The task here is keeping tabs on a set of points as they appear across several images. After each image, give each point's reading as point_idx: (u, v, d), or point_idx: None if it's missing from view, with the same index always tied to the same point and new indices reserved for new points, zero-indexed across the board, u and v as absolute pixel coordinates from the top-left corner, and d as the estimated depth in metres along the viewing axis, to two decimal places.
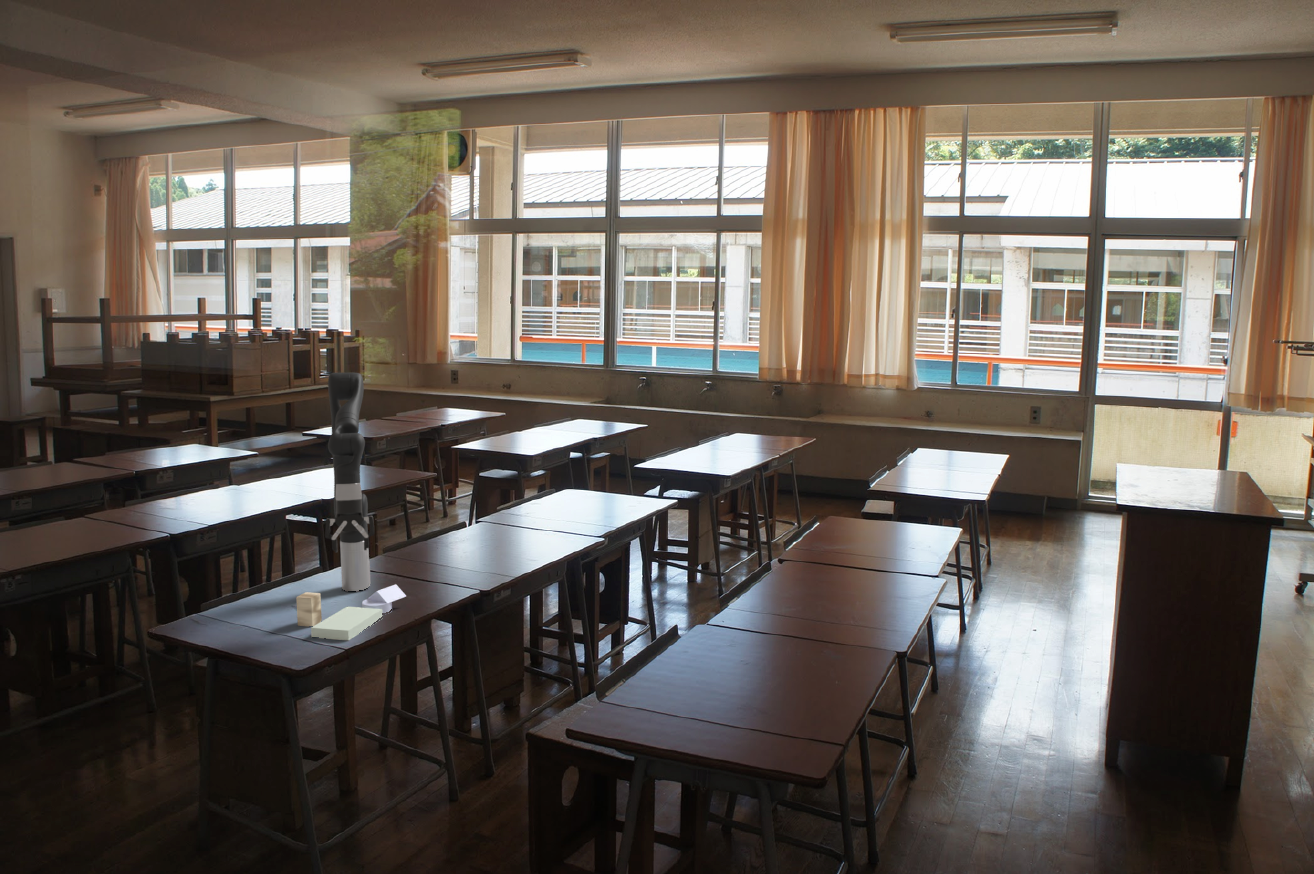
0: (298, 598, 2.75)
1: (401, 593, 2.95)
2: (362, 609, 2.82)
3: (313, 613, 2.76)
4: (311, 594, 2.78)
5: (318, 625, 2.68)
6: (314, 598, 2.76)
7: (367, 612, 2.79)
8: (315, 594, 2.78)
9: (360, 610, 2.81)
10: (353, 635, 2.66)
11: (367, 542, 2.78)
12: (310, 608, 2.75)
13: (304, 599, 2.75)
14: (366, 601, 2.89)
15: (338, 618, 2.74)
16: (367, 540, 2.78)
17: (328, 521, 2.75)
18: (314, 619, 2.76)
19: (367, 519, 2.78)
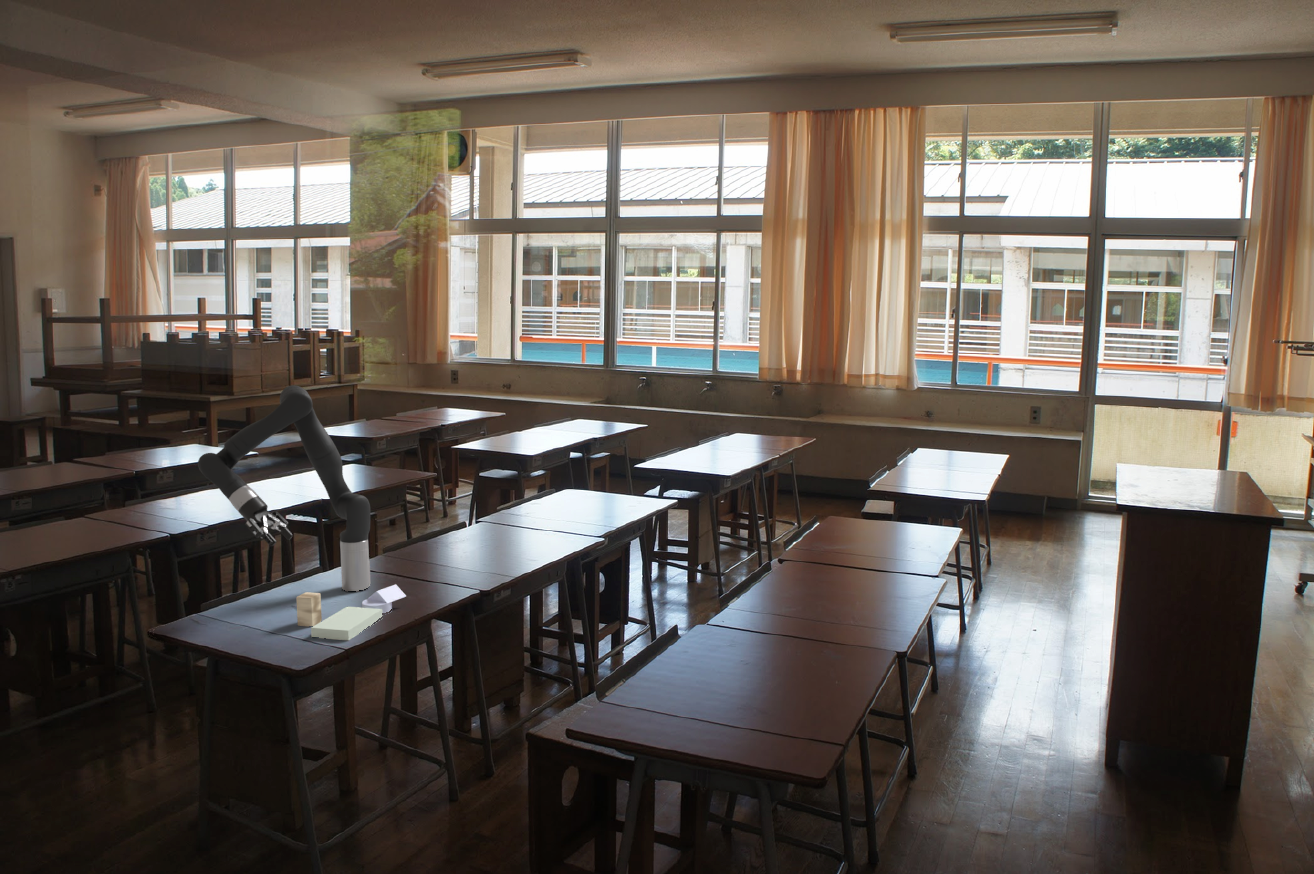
0: (298, 598, 2.75)
1: (401, 593, 2.95)
2: (362, 609, 2.82)
3: (313, 613, 2.76)
4: (311, 594, 2.78)
5: (318, 625, 2.68)
6: (314, 598, 2.76)
7: (367, 612, 2.79)
8: (315, 594, 2.78)
9: (360, 610, 2.81)
10: (353, 635, 2.66)
11: None
12: (310, 608, 2.75)
13: (304, 599, 2.75)
14: (366, 601, 2.89)
15: (338, 618, 2.74)
16: None
17: None
18: (314, 619, 2.76)
19: None
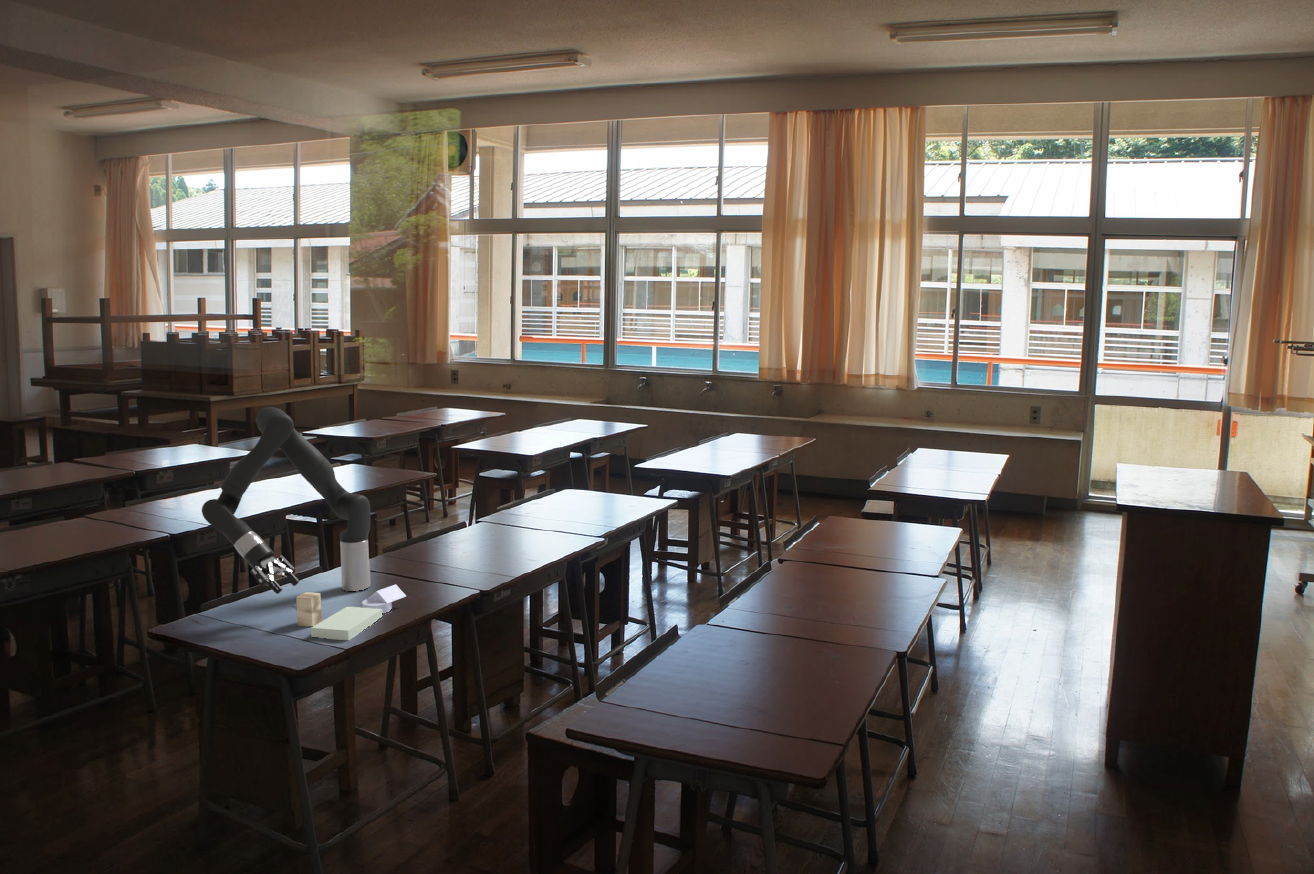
0: (298, 598, 2.75)
1: (401, 593, 2.95)
2: (362, 609, 2.82)
3: (313, 613, 2.76)
4: (311, 594, 2.78)
5: (318, 625, 2.68)
6: (314, 598, 2.76)
7: (367, 612, 2.79)
8: (315, 594, 2.78)
9: (360, 610, 2.81)
10: (353, 635, 2.66)
11: None
12: (310, 608, 2.75)
13: (304, 599, 2.75)
14: (366, 601, 2.89)
15: (338, 618, 2.74)
16: None
17: None
18: (314, 619, 2.76)
19: None
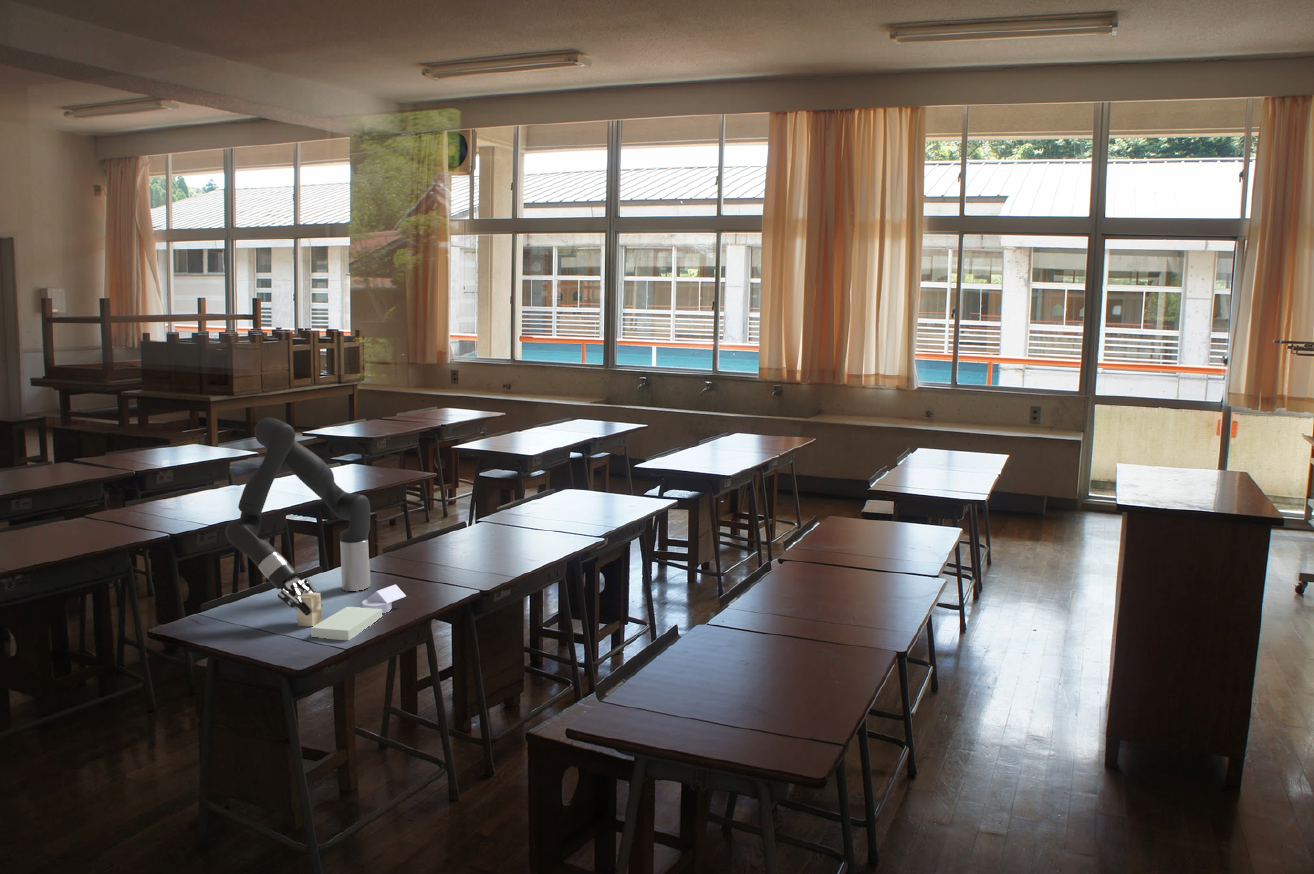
0: None
1: (401, 593, 2.95)
2: (362, 609, 2.82)
3: (313, 613, 2.76)
4: (311, 594, 2.78)
5: (318, 625, 2.68)
6: (314, 598, 2.76)
7: (367, 612, 2.79)
8: (315, 594, 2.78)
9: (360, 610, 2.81)
10: (353, 635, 2.66)
11: None
12: (310, 608, 2.75)
13: (303, 599, 2.75)
14: (366, 601, 2.89)
15: (338, 618, 2.74)
16: None
17: None
18: (314, 619, 2.76)
19: None
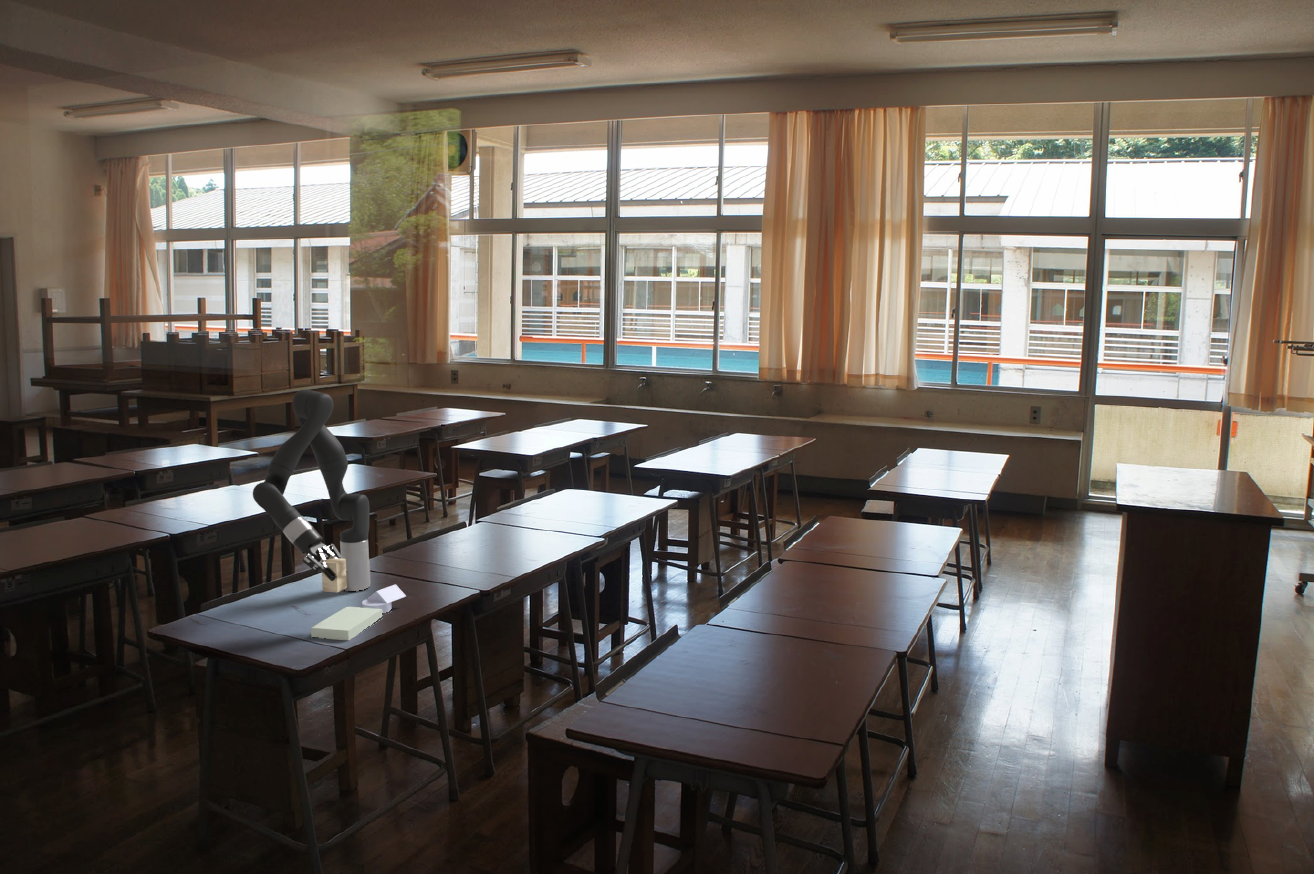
0: None
1: (401, 593, 2.95)
2: (362, 609, 2.82)
3: (338, 579, 2.71)
4: (336, 559, 2.73)
5: (318, 625, 2.68)
6: (339, 563, 2.71)
7: (367, 612, 2.79)
8: (340, 559, 2.73)
9: (360, 610, 2.81)
10: (353, 635, 2.66)
11: None
12: None
13: (329, 564, 2.70)
14: (366, 601, 2.89)
15: (338, 618, 2.74)
16: None
17: None
18: (339, 585, 2.72)
19: None
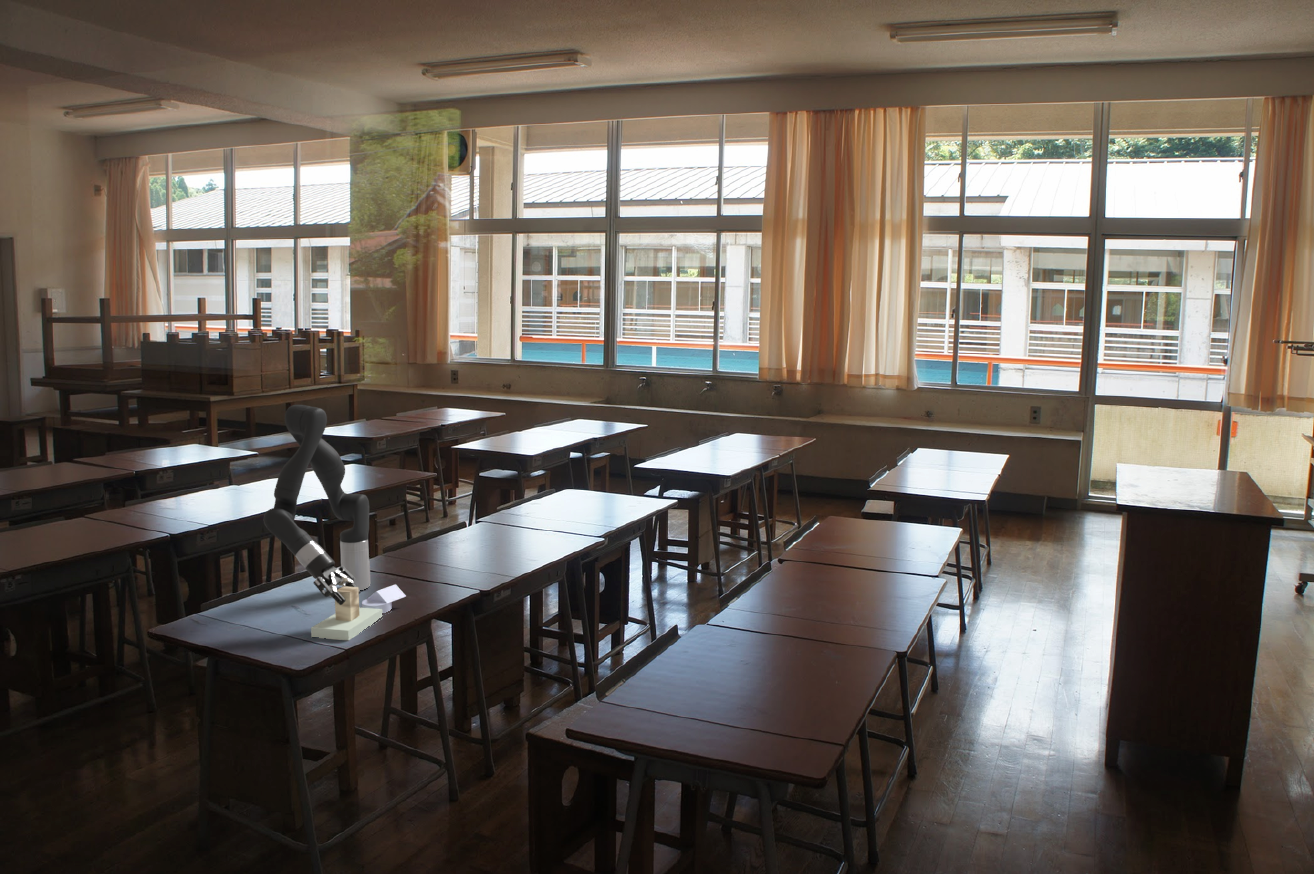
0: None
1: (401, 593, 2.95)
2: (362, 609, 2.82)
3: (351, 608, 2.72)
4: (349, 588, 2.74)
5: (318, 625, 2.68)
6: (352, 592, 2.72)
7: (367, 612, 2.79)
8: (353, 588, 2.74)
9: (360, 610, 2.81)
10: (353, 635, 2.66)
11: None
12: (348, 602, 2.71)
13: (342, 593, 2.71)
14: (366, 601, 2.89)
15: None
16: None
17: None
18: (352, 613, 2.72)
19: None
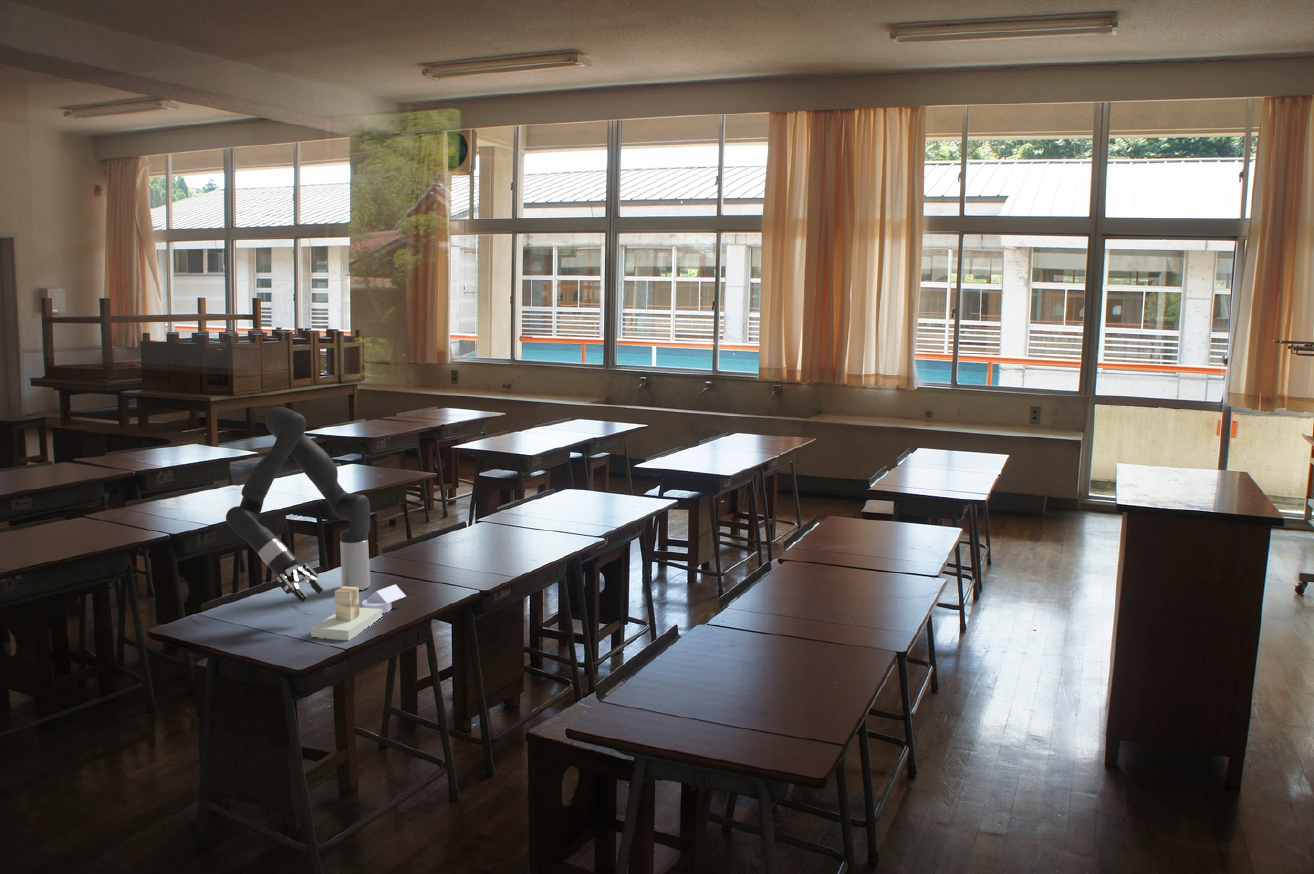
0: (336, 592, 2.71)
1: (401, 593, 2.95)
2: (362, 609, 2.82)
3: (351, 608, 2.72)
4: (349, 588, 2.74)
5: (318, 625, 2.68)
6: (352, 592, 2.72)
7: (367, 612, 2.79)
8: (353, 588, 2.74)
9: (360, 610, 2.81)
10: (353, 635, 2.66)
11: None
12: (348, 602, 2.71)
13: (342, 593, 2.71)
14: (366, 601, 2.89)
15: None
16: None
17: None
18: (352, 613, 2.72)
19: None
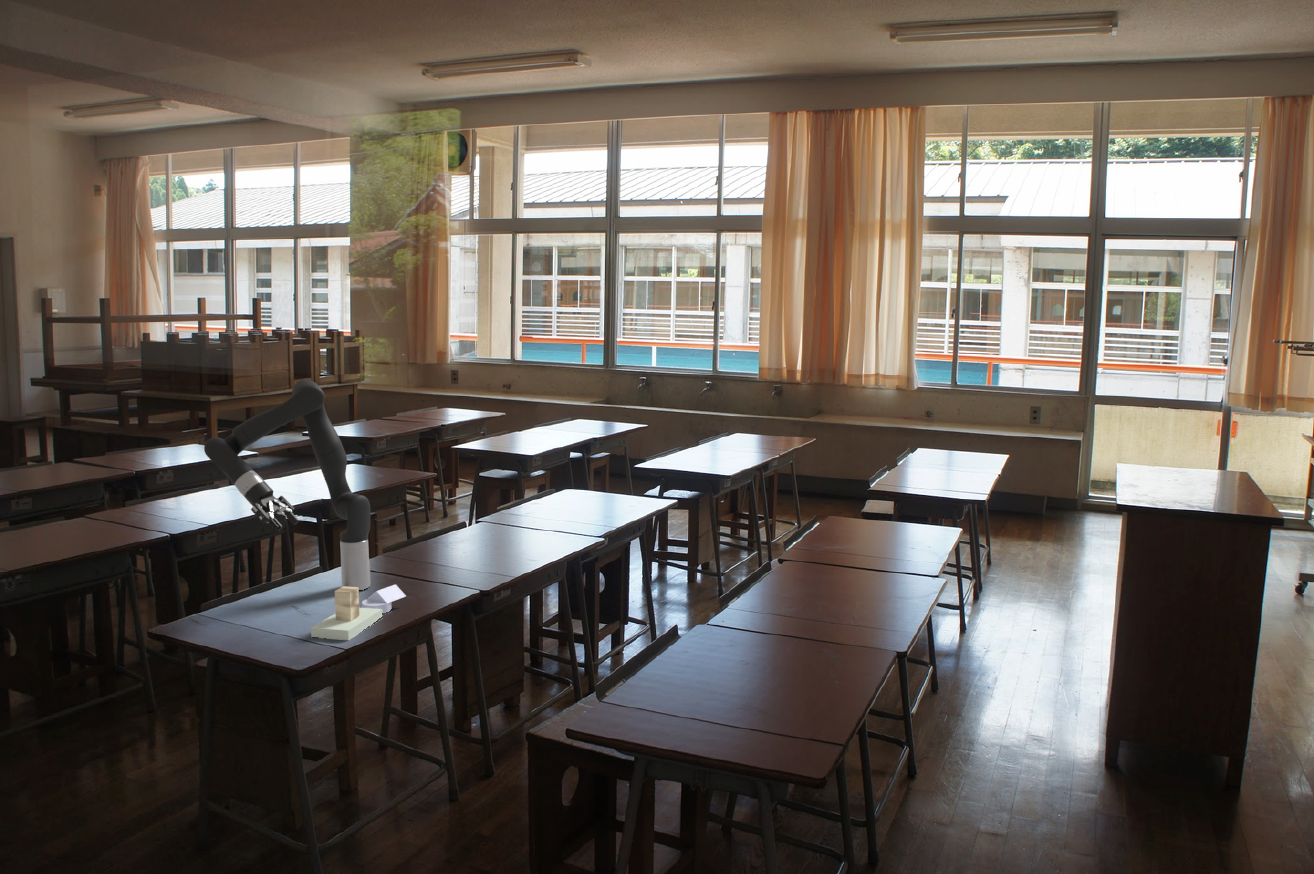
0: (336, 592, 2.71)
1: (401, 593, 2.95)
2: (362, 609, 2.82)
3: (351, 608, 2.72)
4: (349, 588, 2.74)
5: (318, 625, 2.68)
6: (352, 592, 2.72)
7: (367, 612, 2.79)
8: (353, 588, 2.74)
9: (360, 610, 2.81)
10: (353, 635, 2.66)
11: None
12: (348, 602, 2.71)
13: (342, 593, 2.71)
14: (366, 601, 2.89)
15: None
16: None
17: None
18: (352, 613, 2.72)
19: None
